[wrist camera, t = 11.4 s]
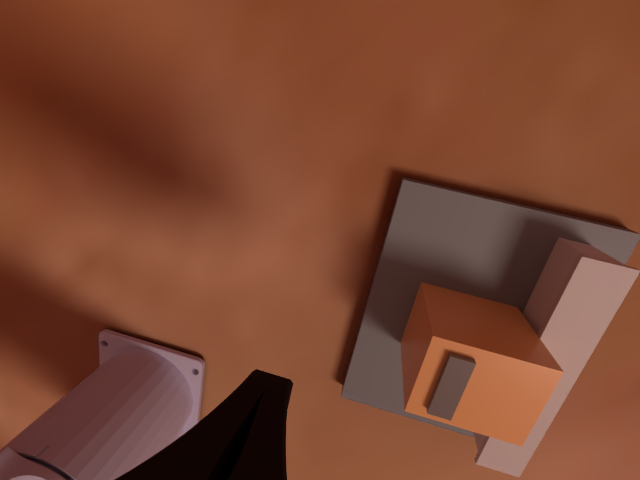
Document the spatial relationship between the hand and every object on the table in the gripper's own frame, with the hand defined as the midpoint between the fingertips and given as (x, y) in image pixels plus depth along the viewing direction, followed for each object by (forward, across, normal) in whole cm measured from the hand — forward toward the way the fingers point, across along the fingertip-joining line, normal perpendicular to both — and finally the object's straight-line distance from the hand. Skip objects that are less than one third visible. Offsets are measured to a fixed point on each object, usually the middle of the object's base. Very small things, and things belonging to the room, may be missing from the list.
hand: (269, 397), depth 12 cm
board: (+9, -8, 0) cm, 13 cm away
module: (+8, -8, 0) cm, 12 cm away
